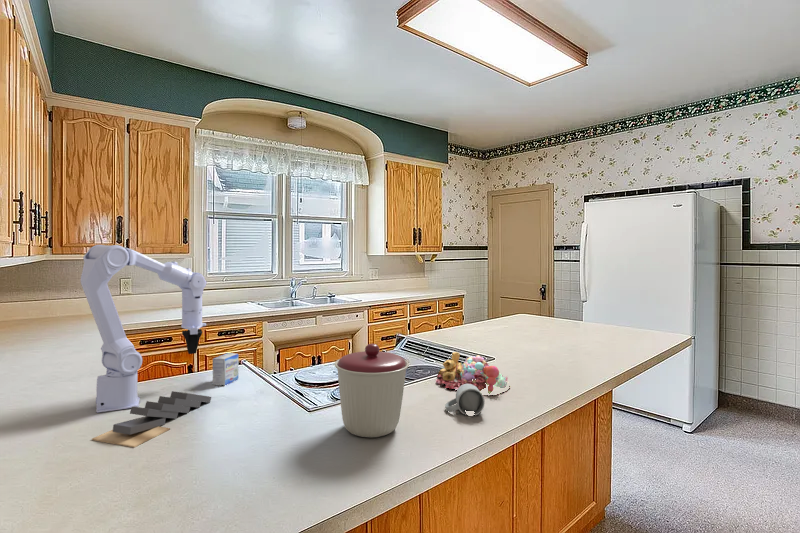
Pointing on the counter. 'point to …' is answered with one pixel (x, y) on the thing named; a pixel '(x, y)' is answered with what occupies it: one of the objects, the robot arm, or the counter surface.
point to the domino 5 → (190, 397)
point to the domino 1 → (138, 425)
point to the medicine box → (225, 369)
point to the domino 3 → (167, 407)
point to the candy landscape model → (470, 373)
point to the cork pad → (130, 437)
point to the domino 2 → (153, 412)
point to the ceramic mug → (467, 400)
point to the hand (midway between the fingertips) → (192, 353)
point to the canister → (371, 391)
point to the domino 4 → (179, 402)
